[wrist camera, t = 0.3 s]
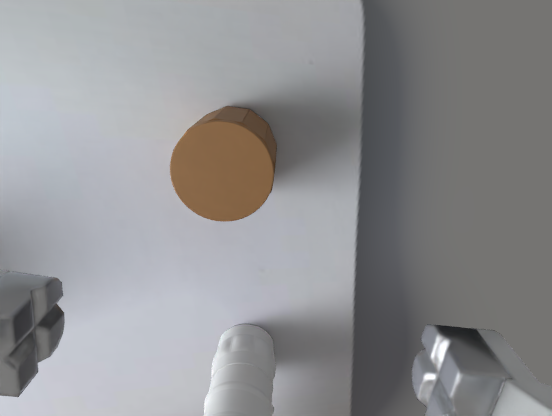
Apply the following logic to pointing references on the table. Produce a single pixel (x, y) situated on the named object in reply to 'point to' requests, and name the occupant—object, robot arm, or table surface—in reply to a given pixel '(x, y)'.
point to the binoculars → (242, 374)
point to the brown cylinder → (225, 164)
